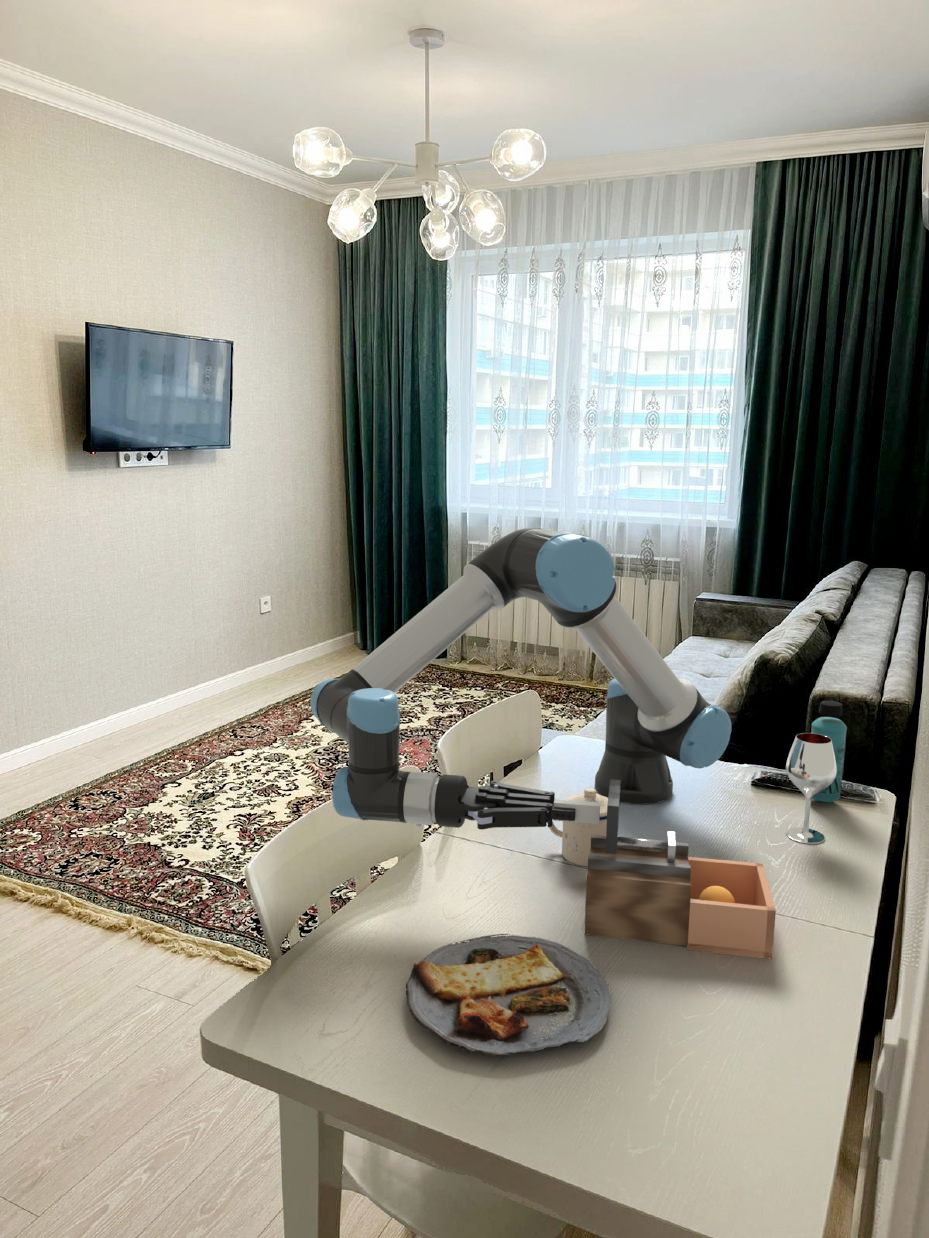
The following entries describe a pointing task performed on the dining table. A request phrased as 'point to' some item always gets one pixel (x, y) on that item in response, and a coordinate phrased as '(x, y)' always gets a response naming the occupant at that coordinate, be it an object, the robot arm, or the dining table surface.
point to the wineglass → (810, 776)
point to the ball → (717, 894)
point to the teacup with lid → (582, 830)
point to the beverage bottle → (838, 735)
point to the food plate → (507, 994)
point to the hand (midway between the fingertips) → (599, 813)
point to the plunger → (626, 842)
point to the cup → (731, 909)
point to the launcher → (637, 894)
